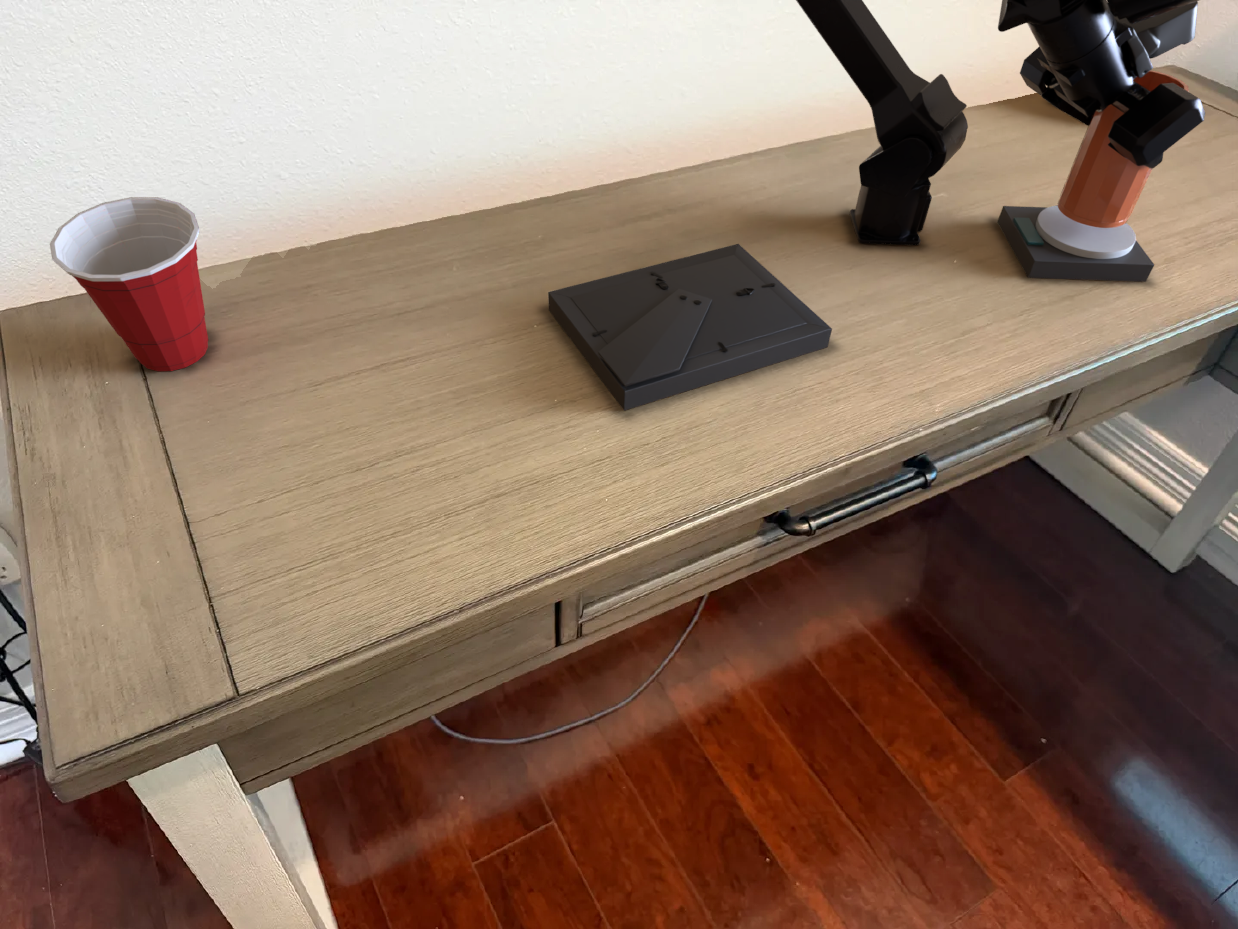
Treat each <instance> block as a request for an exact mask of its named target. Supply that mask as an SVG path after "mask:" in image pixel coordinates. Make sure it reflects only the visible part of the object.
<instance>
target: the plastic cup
mask: <svg viewBox="0 0 1238 929" xmlns="http://www.w3.org/2000/svg"><path fill="white" fill-rule="evenodd" d="M199 235H200V225H199V222H198V219H197V216H196V214H195V212H194V211H192V210H191V209H189V208H188V207H187V206H185V205H184V204H182V203H181V202H178V201H175V200H170V199H166V198H162V197H158V196H155V197H154V196H130V197H124V198H120V199H115V200H109V201H105V202H102V203H98V204H96V205H94V206H91V207H90V208H87V209H85V210H82V211H79V212H77V213H76V214H75V215H74V216H73V217H71V218H70V219H68V220H67V221H65V222H64V223H63V224H62V225H60V226H59V227H58V228H57V230H56V232H55V234H54V235H53V237H52V239H51V240H50V242H49V249H50V256H51V260H52V261H53V262H54V263H55V264H56V265H58V266H59V267H60V268H61V269H62V270H63V271H64V272H65V273H66V274H68V275H69V276H71V277H73V279H75V280H76V281H77V283H78V284H79V286H81V288H83V289H84V291H85V292H86V293H87V295H88V296H89V297H90V299H91V301H93V303H94V305H96V307H97V308H98V310H99V311H100V313H101V314H102V315H103V316H104V318H105V319H106V321H107V322H108V324H109V325H110V327H111V328H112V329H113V330H114V332H115V333H116V335H117V336H119V337H120V338H121V339H122V341H123V342H124V344H125V345H126V347H127V349H128V350H129V351H130V353H131V354H132V356H133V357H134V358H135V359H136V360H137V361H138V362H139V363H140V364H141V365H142V366H143V367H145V368H146V369H148V370H151V371H155V372H173V371H177V370H182V369H185V368H187V367H189V366H191V365H193V364H195V363H197V362H199V361H200V359H201V358H203V357H204V356H205V355H206V353H207V350H208V348H209V345H208V343H209V336H208V330H207V324H206V318H205V316H206V310H205V304H204V298H203V292H202V285H201V284H202V283H201V279H200V272H199V266H198V261H199V258H198V251H197V250H198V246H197V241H198V237H199Z"/></svg>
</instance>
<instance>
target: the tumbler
mask: <svg viewBox="0 0 1238 929" xmlns="http://www.w3.org/2000/svg"><path fill="white" fill-rule="evenodd" d="M1133 81H1135V82H1136V83H1138V84H1139V85H1141V86H1143V87H1144V88H1146V89H1147V90H1149V91H1152V90H1153V89H1155V88H1156V87H1157V86H1158V85H1160V84H1164V83H1174V84H1176V85H1178V86H1179V87H1181V88H1183V89H1184V90H1186V91H1188V92H1189V93H1190V89H1189V85H1188V84H1186V83H1185V82H1184V81H1183V80H1182V79H1179V78H1178V77H1175V76H1173V75H1171V74H1167V73H1165V72H1162V71H1161V72H1160V71H1157V70H1153V69H1152V70H1150V71H1149V72H1148V73H1147V74H1145V75H1144V76H1143V77H1142V78H1139V77H1136V78H1135V79H1133ZM1123 114H1124V113H1123V112H1122V111H1120V110H1119V109H1117V108H1116V107H1114V106H1113V105H1109V106H1108V107H1107V108H1106V109H1105V110H1104V111H1102V112H1098V111H1095V112H1094V113H1093V115H1092V118H1091V120H1090V123H1089V125H1088V126H1087V128H1086V131H1085V132H1084V135H1083V138H1082V140H1081V142H1080V146H1079V148H1078V150H1077V153H1076V155H1075V158H1074V160H1073V162H1072V165H1071V167H1070V169H1069V173H1068V175H1067V178H1066V179H1065V182H1064V185H1063V187H1062V190H1061V192H1060V195H1059V199H1058V201H1057V205H1058V208H1059V210H1060V211H1061V212H1062V213H1063V214H1064V215H1065V216H1066V217H1068V218H1070V219H1072V220H1074V221H1076V222H1079V223H1081V224H1085V225H1088V226H1093V227H1100V228H1114V227H1119V226H1122V225H1124V224H1125V223H1128V220H1129V218H1130V217H1131V216H1132V214H1133V212H1134V210H1135V207H1136V205H1137V202H1138V201H1139V198H1140V196H1141V194H1142V192H1143V190H1144V188H1145V186H1146V184H1147V182H1148V180H1149V178H1150V175H1151V173H1152V171H1153V169H1150V168H1148V167H1146V166H1144V165H1143V166H1137V165H1135V164H1134V163H1133V162H1131V161H1130V160H1129V159H1126V158H1124V157H1123V156H1122V155H1120V154H1119V153H1118V152H1116V151H1115V150H1113V149H1112V148H1111V147H1109V146H1108V144H1109V143H1110V140H1109V138H1108V134H1109V132H1110V130H1111V127H1112V125H1113V123H1114V121H1116V120H1117V119H1118V118H1119V117H1120V116H1122V115H1123Z"/></svg>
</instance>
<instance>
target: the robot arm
mask: <svg viewBox="0 0 1238 929" xmlns="http://www.w3.org/2000/svg"><path fill="white" fill-rule="evenodd" d="M795 1H796V3H797V4H798V5H799V7H800V8H801V9H802V11H803V12H804V14H805V15H806V17H807V18H808V20H809V21H810V23H812V25H813V27H814V28H815V29H816V31H817V33H818V34H819V35H820V37H821V38H822V39H823V41H824V42H825V44H826V45H827V46H828V48H829V50H830V51H831V52H832V54H833V55H834V56H835V58H836V59H837V61H838V62H839V64H840V65H841V66H842V68H843V69H844V70H845V72H846V74H847V76H848V77H849V78H850V79H851V80H852V83H854V85H855V86H856V88H857V89H858V90H859V92H860V93H861V95H862V96H863V98H864V99H865V100H866V102H867V103H868V105H869V107H870V109H871V114H872V118H873V124H874V129H875V134H876V138H877V142H878V144H879V145H880V146H878V147H877V148H876V149H875V150H874V151H873V152H872V153H871V154H870V155H869V156H867V157H866V158H865V159H864V160H862V162H861V163H860V164H859V165H858V172H859V180H860V188H859V192H858V196H857V200H856V205H855V208H852V209H850V210H849V213H848V214H849V217H850V221H851V224H852V227H853V230H854V233H855V236H856V239H857V241H858V243H859V244H863V245H888V246H889V245H893V246H919V245H921V241H922V239H921V236H920V235H919V233H921V232H922V231H923V230H924V227H925V223H926V219H927V216H928V213H929V209H930V206H931V203H932V199H933V197H932V194H931V192H930V189H931V187H932V186H931V185H932V182H931V181H930V178H932V177H934V176H935V175H936V174H937V173H938V172H940V170H942V169H943V167H945V165H946V164H947V163H948V162H949V161H950V160H951V159H952V158H953V157H954V156H955V155H956V154H957V152H959V150H960V149H961V148H962V146H963V145H964V143H965V141H966V138H967V134H968V128H969V124H968V119H967V117H966V115H965V113H964V110H965V109H966V108H967V106H968V105H967V103H965V102H964V101H962V100H960V99H959V98H958V97H957V95H956V94H955V93H954V91H953V90H952V87H951V85H950V82H949V81H948V79H947V78H946V77H945V75H944V74H943V73H940V74H938V75H937V76H936V77H935V78H934V79H933V80H931V82H929V81H928V80H926V79H925V78H923V77H921V76H919V75H917V74H916V73H915V72H914V71H913V70H912V69H911V68H910V67H909V66H908V64H907V62H906V60H904V58H903V56H902V55H901V54H900V53H899V51H898V49H897V48H896V46H894V44H893V42H892V41H891V39H890V38H889V36H888V35H887V33H886V32H885V31H884V29H883V28H882V26H881V25H880V23H879V22H878V20H877V19H876V18H875V16H874V15H873V14H872V12H871V11H870V9H869V8H868V7H867V5H866V4H865V2H864V0H795ZM1199 1H1200V0H1001V4H1000V11H999V17H998V24H997V29H998V31H999V32H1000V33H1003V32H1006V31H1009V30H1012V29H1014V28H1017V27H1019V26H1022V25H1024V24H1027V26H1028V28H1029V29H1030V32H1031V33H1032V35H1033V37H1034V39H1035V42H1036V43H1037V45H1038V47H1037V48H1036V49H1034V50H1033V51H1032V52H1031V53H1030V54H1029V55H1028V56H1027V57H1025V59H1023V62H1022V65H1021V68H1020V71H1019V75H1020V77H1021V78H1022V80H1023V81H1024V83H1025V86H1027V87H1028V88H1029V89H1031V90H1032V91H1034V92H1035V93H1036V94H1038V96H1040V97H1041V98H1042V99H1043V100H1044V101H1046V102H1047V103H1049V104H1050V105H1052V107H1054V108H1056V109H1057V110H1059V111H1061V112H1063V113H1064V114H1066V115H1067V116H1070V117H1071V118H1073V119H1075V120H1077V121H1079V122H1080V123H1082V124H1083V125H1085V126H1087V127H1088V125H1089V123H1090V120H1091V118H1092V115H1093V113H1094V112H1095V111H1098V112H1102V111H1104V110H1105V109H1106V108H1107V107H1108V106H1109V105H1113V106H1114V107H1116V108H1117V109H1119V110H1120V111H1122V112H1123V113H1124V114H1123V115H1122V116H1120V117H1119V118H1118V119H1117V120H1116V121H1114V123H1113V125H1112V127H1111V130H1110V132H1109V134H1108V138H1109V140H1110V143H1109V144H1108V146H1109V147H1111V148H1112V149H1113V150H1115V151H1116V152H1118V153H1119V154H1120V155H1122V156H1123V157H1124V158H1126V159H1129V160H1130V161H1131V162H1133V163H1134V164H1135V165H1137V166H1143V165H1144V166H1146V167H1148V168H1150V169H1152V170H1154V169H1155V168H1156V167H1157V166H1158V165H1160V164H1161V163H1162V162H1163V159H1164V153H1165V152H1166V151H1167V150H1168V149H1170V148H1172V147H1173V145H1175V144H1176V143H1177V142H1179V141H1180V140H1181V139H1183V138H1184V137H1185V136H1186V135H1188V134H1189V133H1190V132H1191V131H1193V130H1194V129H1195V128H1197V127H1198V126H1199V125H1201V124H1202V123H1203V122H1204V121H1205V117H1206V110H1205V109H1204V105H1203V103H1202V100H1201V98H1199V97H1197V95H1194V94H1193V93H1191V92H1190V91H1189V92H1188V91H1186V90H1184V89H1183V88H1181V87H1179V86H1178V85H1176V84H1174V83H1164V84H1160V85H1158V86H1157V87H1156V88H1155V89H1153V90H1152V91H1149V90H1147V89H1146V88H1144V87H1143V86H1141V85H1139V84H1138V83H1136V82H1135V81H1133V79H1135V78H1136V77H1139V78H1142V77H1143V76H1144V75H1145V74H1147V73H1148V72H1149V71H1150V70H1152V71H1153V70H1154V66H1153V64H1152V61H1151V59H1155V58H1157V57H1159V56H1162V55H1163V54H1165V53H1167V52H1169V51H1170V50H1173V49H1175V48H1177V47H1179V46H1181V45H1182V46H1183V45H1187V44H1189V43H1190V42H1192V41H1193V40H1194V39H1195V38H1196V28H1197V16H1198V6H1199Z"/></svg>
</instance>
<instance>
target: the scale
mask: <svg viewBox="0 0 1238 929" xmlns="http://www.w3.org/2000/svg"><path fill="white" fill-rule="evenodd" d="M997 225H998V227H999V229H1000V231H1001V232H1002V233H1003V236H1004V237H1005V239H1006V241H1007V242H1008V244H1009V246H1010V249H1011V250H1012V251H1013V254H1014V256H1015V257H1016V259H1017V261H1018V263H1019V264H1020V266H1021V268H1022V270H1023V271H1024V273H1025V275H1026V277H1027V278H1028V279H1048V280H1049V279H1051V280H1055V279H1056V280H1083V281H1085V280H1086V281H1113V282H1143V283H1144V282H1145V283H1146V282H1147V280H1148V279H1149V276H1150V274H1151V273H1152V271H1153V269H1154V267H1155V263H1154V262H1153V260H1152V259H1151V258H1150V256H1149V255H1148V254H1147V253H1146V251H1145V250H1144V249H1143V247H1142V246H1141V245H1140V244H1139V242H1138V241H1137V235H1136V232H1135V231H1134V229H1133V228H1132V227H1131V226H1130V224H1129V223H1128V222H1126V223H1125V224H1124V225H1122V226H1119V227H1114V228H1100V227H1093V226H1088V225H1085V224H1081V223H1079V222H1076V221H1074V220H1072V219H1070V218H1068V217H1066V216H1065V215H1064V214H1063V213H1062V212H1061V211H1060V210H1059V208H1058V204H1056V205H1051V206H1049V207H1048V206H1047V207H1045V206H1020V205H1019V206H1017V205H1002V208H1001V211H1000V213H999V216H998V219H997Z"/></svg>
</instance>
